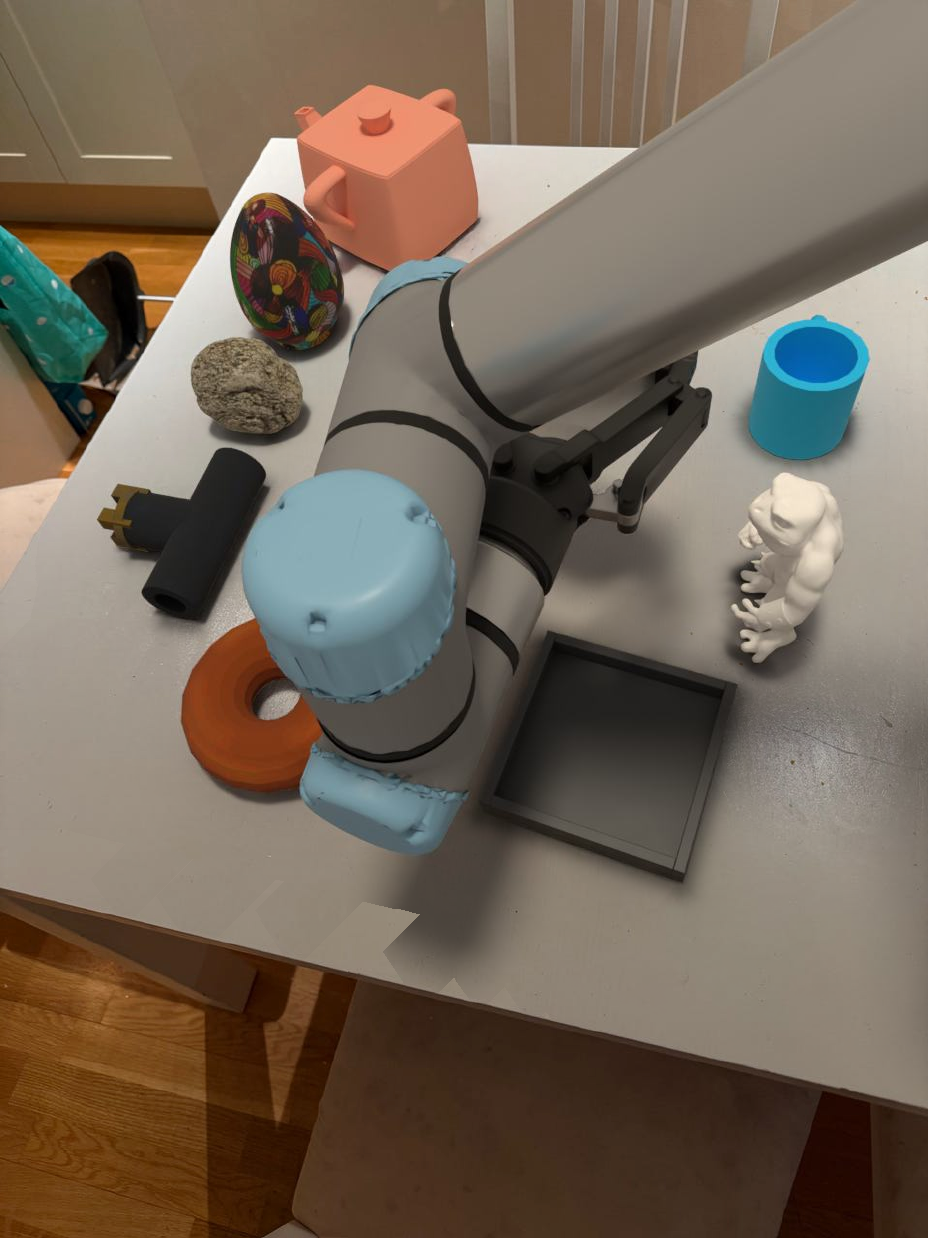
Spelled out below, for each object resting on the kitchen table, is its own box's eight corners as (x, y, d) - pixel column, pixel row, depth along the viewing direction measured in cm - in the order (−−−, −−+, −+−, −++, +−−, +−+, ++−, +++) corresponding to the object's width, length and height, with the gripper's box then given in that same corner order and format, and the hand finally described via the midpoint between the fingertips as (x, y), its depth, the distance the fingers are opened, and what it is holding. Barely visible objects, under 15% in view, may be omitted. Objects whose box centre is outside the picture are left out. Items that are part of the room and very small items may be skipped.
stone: (297, 452, 84) (264, 374, 76) (206, 441, 87) (163, 364, 78) (319, 404, 87) (289, 323, 79) (230, 394, 89) (191, 315, 81)
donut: (161, 770, 69) (133, 745, 65) (247, 613, 76) (226, 581, 71) (331, 828, 65) (312, 805, 61) (406, 656, 71) (394, 625, 67)
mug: (840, 466, 76) (865, 397, 69) (741, 452, 78) (756, 384, 71) (852, 366, 81) (877, 293, 74) (760, 355, 83) (776, 283, 76)
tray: (733, 697, 66) (738, 683, 64) (681, 882, 60) (684, 873, 58) (548, 644, 70) (547, 629, 68) (482, 812, 64) (478, 801, 62)
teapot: (513, 198, 100) (502, 71, 88) (379, 311, 93) (347, 189, 81) (387, 146, 108) (362, 23, 96) (256, 246, 101) (211, 127, 89)
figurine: (812, 680, 66) (866, 569, 53) (720, 672, 67) (751, 561, 55) (809, 561, 71) (857, 433, 59) (724, 555, 73) (752, 429, 60)
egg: (236, 352, 93) (179, 225, 80) (288, 286, 97) (242, 155, 84) (323, 375, 89) (278, 246, 76) (372, 305, 94) (337, 173, 81)
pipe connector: (62, 567, 74) (141, 432, 81) (92, 600, 78) (164, 470, 85) (185, 592, 71) (256, 450, 78) (208, 624, 76) (273, 488, 83)
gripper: (323, 558, 55) (461, 315, 64) (680, 661, 48) (774, 374, 58) (287, 480, 48) (446, 223, 58) (694, 587, 42) (797, 278, 51)
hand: (610, 299), depth 58 cm, fingers closed on cup, 10 cm apart
